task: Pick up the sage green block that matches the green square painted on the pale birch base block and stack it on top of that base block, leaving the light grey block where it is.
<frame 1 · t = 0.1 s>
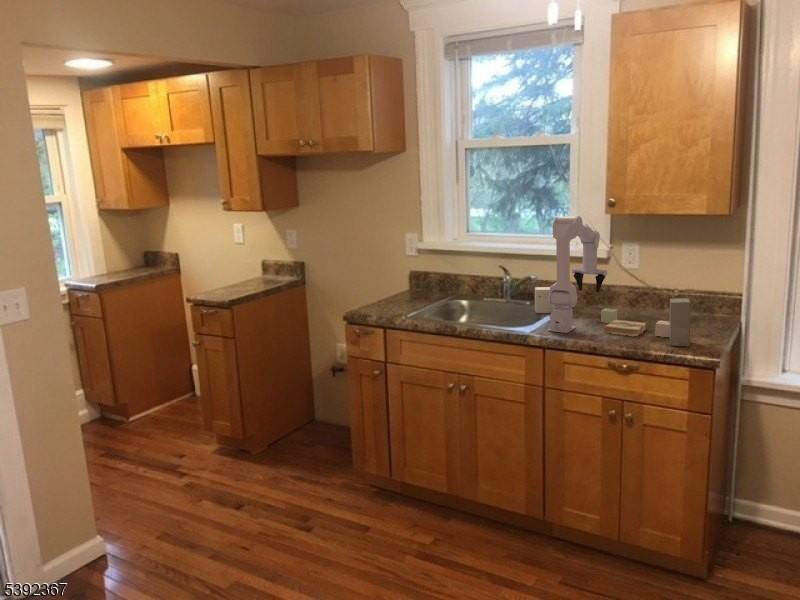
hand: (589, 291, 273), 10 cm above the worktop, tool pointing down, fingers open, 7 cm apart
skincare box: (678, 344, 229), on the worktop
grey block: (663, 335, 239), on the worktop
small box: (544, 312, 283), on the worktop
sage block: (609, 322, 262), on the worktop
birch base block: (625, 332, 248), on the worktop
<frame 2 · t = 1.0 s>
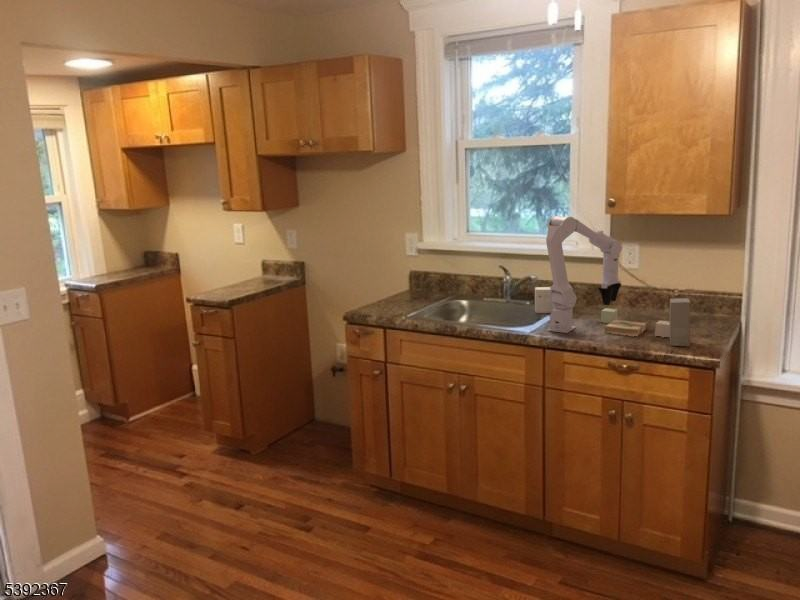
hand: (609, 302, 260), 8 cm above the worktop, tool pointing down, fingers open, 7 cm apart
nothing on the worktop moved.
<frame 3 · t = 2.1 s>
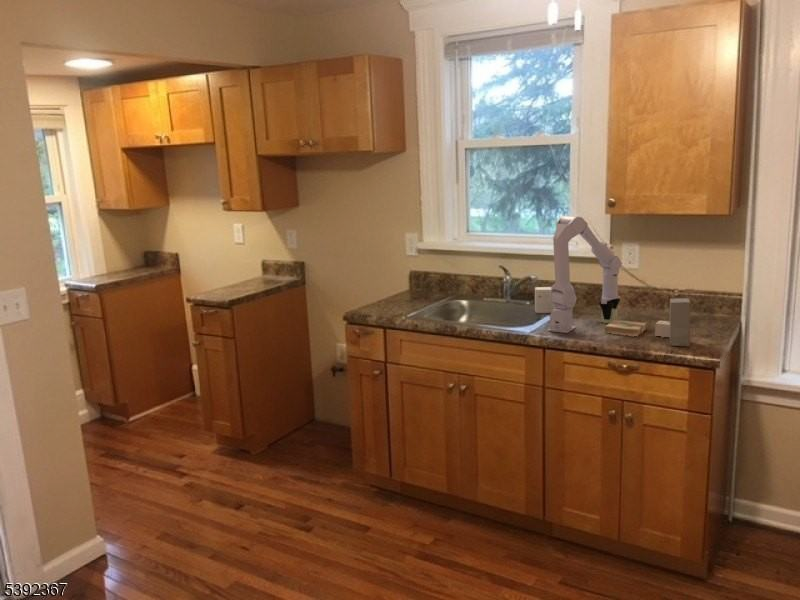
hand: (609, 317, 262), 2 cm above the worktop, tool pointing down, fingers closed on sage block, 5 cm apart
sage block: (609, 321, 262), on the worktop, touching gripper
everything else where it was.
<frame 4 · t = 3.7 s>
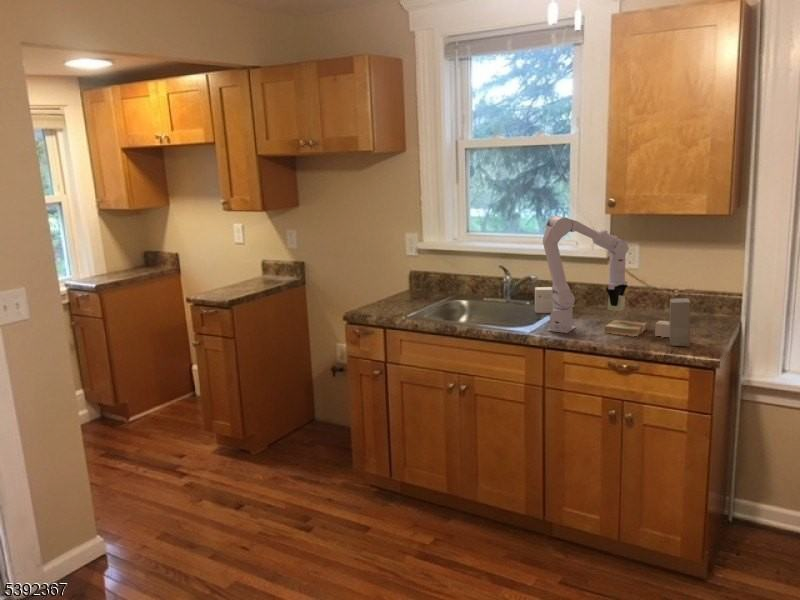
hand: (616, 304, 254), 9 cm above the worktop, tool pointing down, fingers closed on sage block, 5 cm apart
sage block: (616, 309, 255), point 7 cm above the worktop, touching gripper
everything else where it was.
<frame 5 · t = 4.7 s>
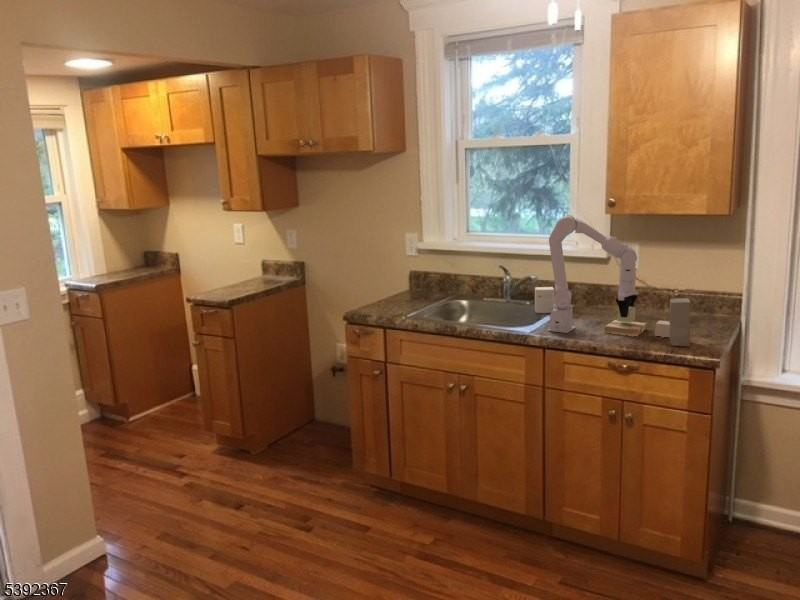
hand: (626, 315, 246), 6 cm above the worktop, tool pointing down, fingers closed on sage block, 5 cm apart
sage block: (626, 320, 247), point 4 cm above the worktop, touching gripper
everything else where it was.
when the fingers open (6 cm above the worktop, at t = 5.2 s): sage block drops 1 cm, resting on birch base block.
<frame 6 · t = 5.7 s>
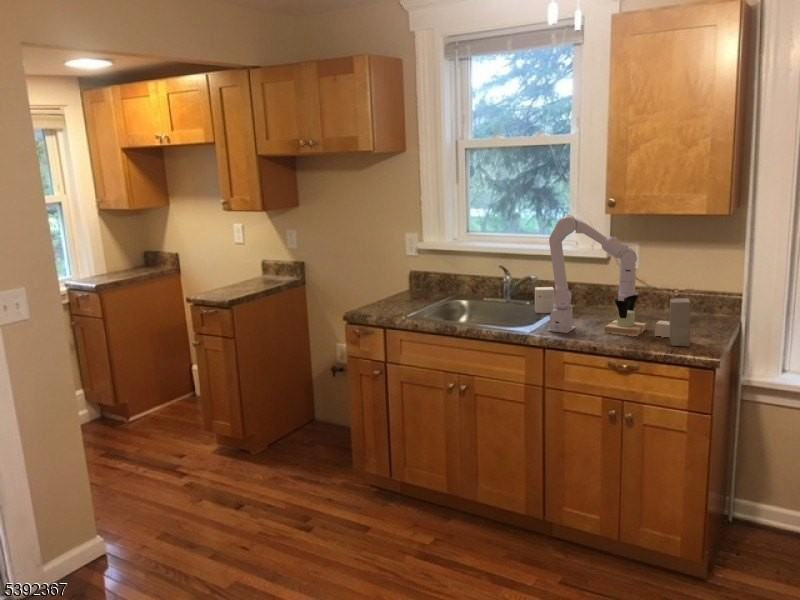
hand: (626, 315, 246), 6 cm above the worktop, tool pointing down, fingers open, 7 cm apart
sage block: (625, 324, 247), point 3 cm above the worktop, touching birch base block
birch base block: (625, 332, 248), on the worktop, touching sage block
everything else where it was.
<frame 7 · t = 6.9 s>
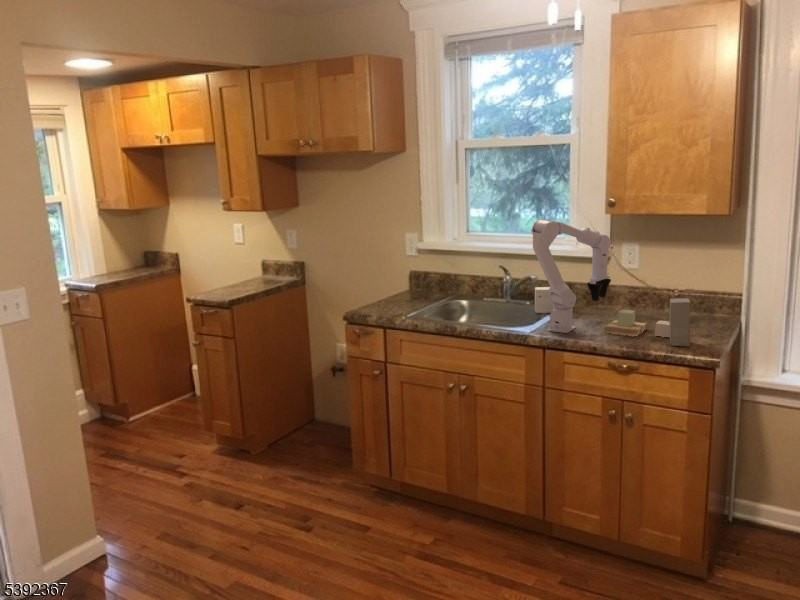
hand: (598, 298, 257), 10 cm above the worktop, tool pointing down, fingers open, 7 cm apart
sage block: (626, 324, 247), point 3 cm above the worktop
birch base block: (625, 332, 248), on the worktop
everything else where it was.
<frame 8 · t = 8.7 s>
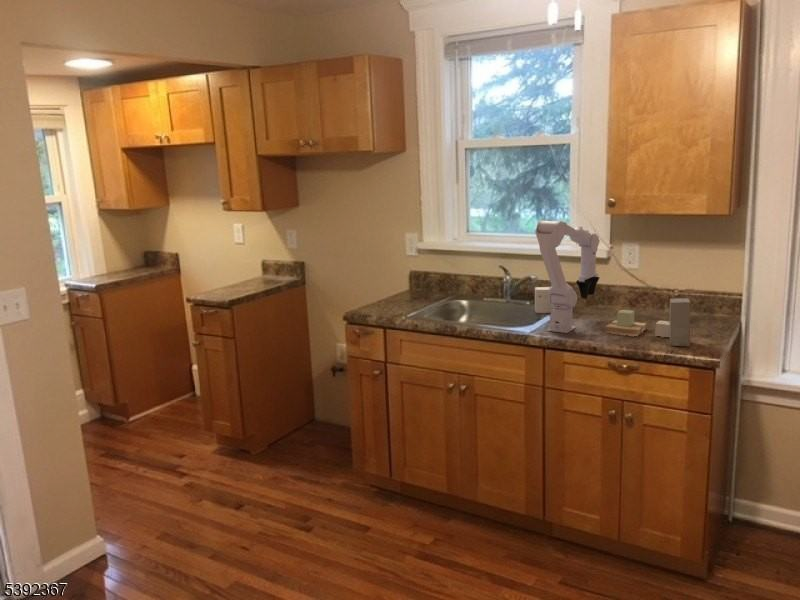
hand: (587, 296, 262), 10 cm above the worktop, tool pointing down, fingers open, 7 cm apart
nothing on the worktop moved.
at the end: sage block 0.1 cm off-centre on the birch base block, point 3.2 cm above the birch base block's base; sage block tilted 0°; the gripper is holding nothing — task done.
